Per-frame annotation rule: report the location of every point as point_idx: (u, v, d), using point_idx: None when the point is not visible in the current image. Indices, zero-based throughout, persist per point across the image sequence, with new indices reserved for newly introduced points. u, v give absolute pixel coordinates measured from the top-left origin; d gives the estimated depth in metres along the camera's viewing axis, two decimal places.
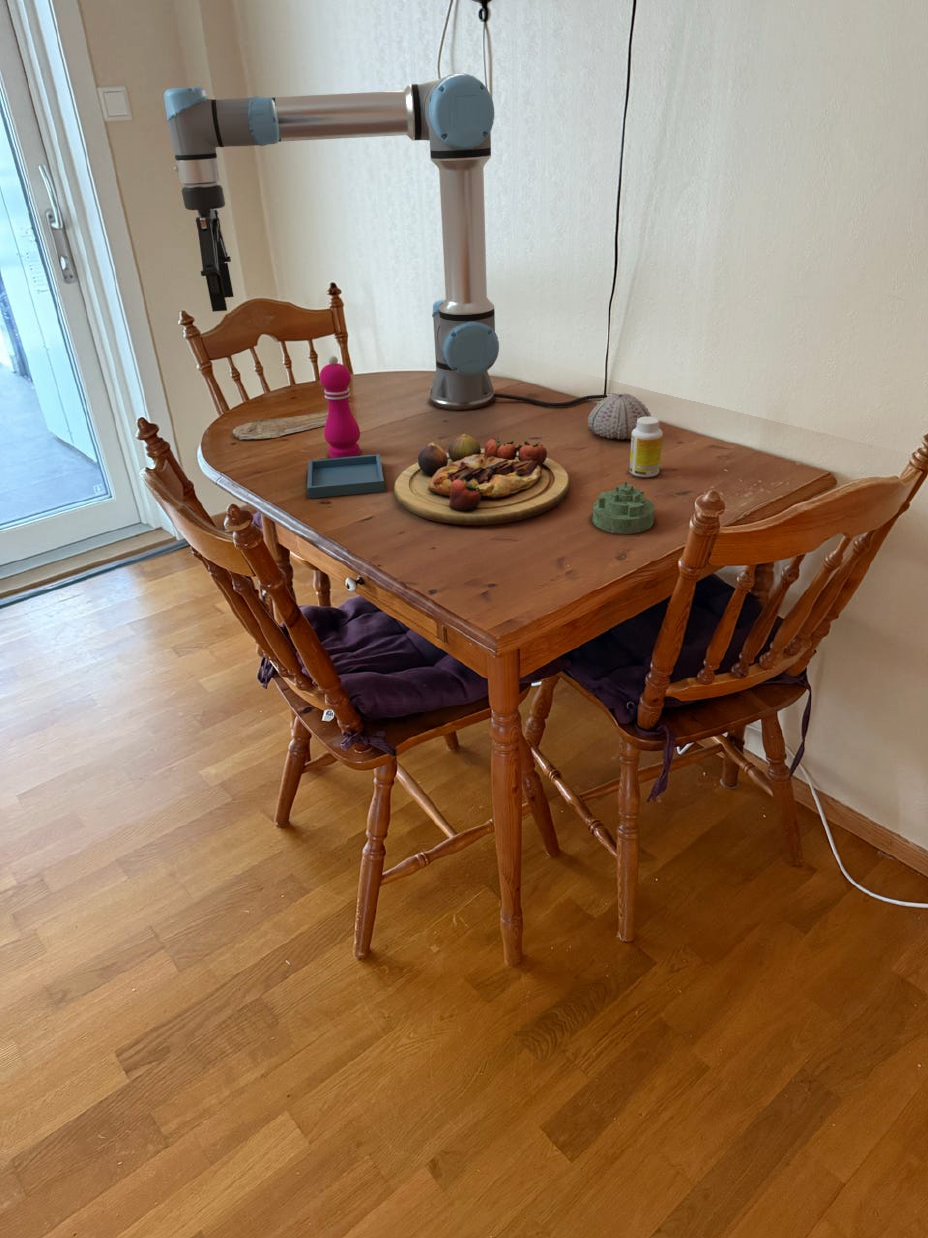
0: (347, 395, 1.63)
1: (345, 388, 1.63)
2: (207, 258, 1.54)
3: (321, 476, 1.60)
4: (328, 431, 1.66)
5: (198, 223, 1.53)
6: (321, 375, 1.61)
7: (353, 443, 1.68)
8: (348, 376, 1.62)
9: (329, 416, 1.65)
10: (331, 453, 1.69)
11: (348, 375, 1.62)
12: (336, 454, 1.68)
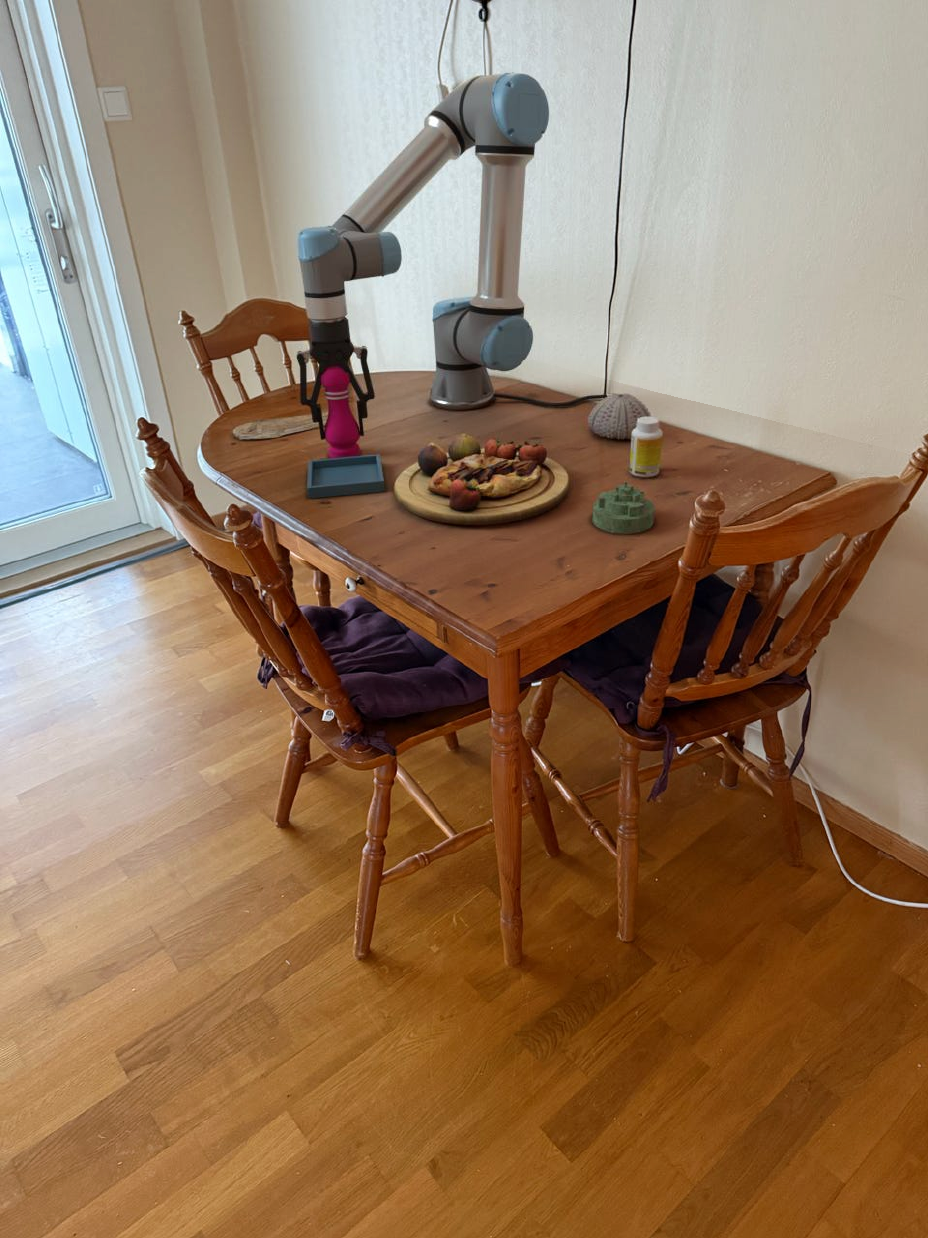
0: (347, 395, 1.63)
1: (345, 388, 1.63)
2: None
3: (321, 476, 1.60)
4: (328, 431, 1.66)
5: None
6: (321, 375, 1.61)
7: (353, 443, 1.68)
8: (348, 376, 1.62)
9: (329, 416, 1.65)
10: (331, 453, 1.69)
11: (348, 375, 1.62)
12: (336, 454, 1.68)
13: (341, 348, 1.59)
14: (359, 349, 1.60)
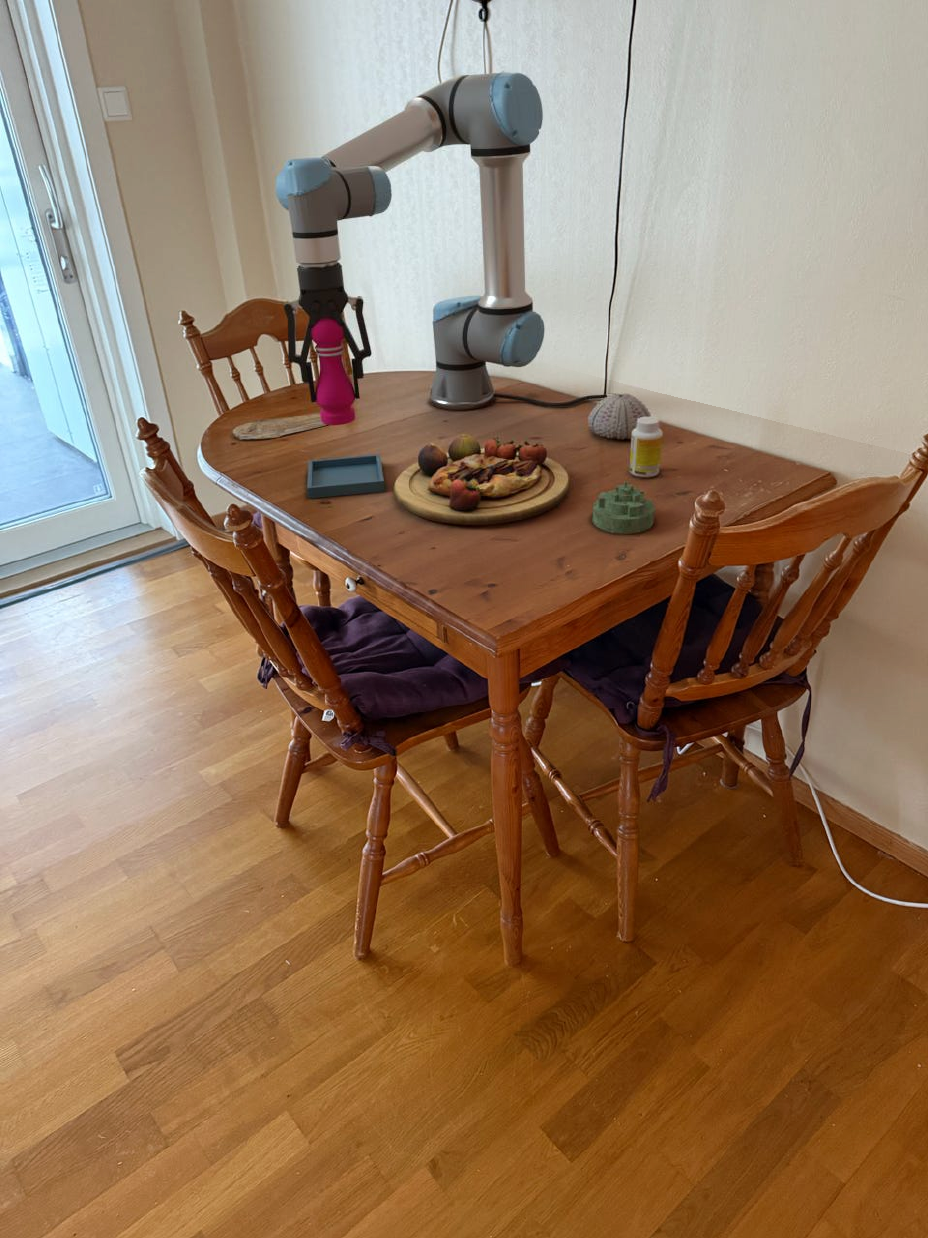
0: (341, 352, 1.46)
1: (338, 344, 1.46)
2: None
3: (321, 476, 1.60)
4: (320, 393, 1.49)
5: None
6: None
7: (347, 406, 1.51)
8: (342, 330, 1.45)
9: (321, 375, 1.48)
10: (323, 418, 1.52)
11: (342, 329, 1.45)
12: (328, 418, 1.51)
13: (334, 298, 1.42)
14: (354, 299, 1.43)
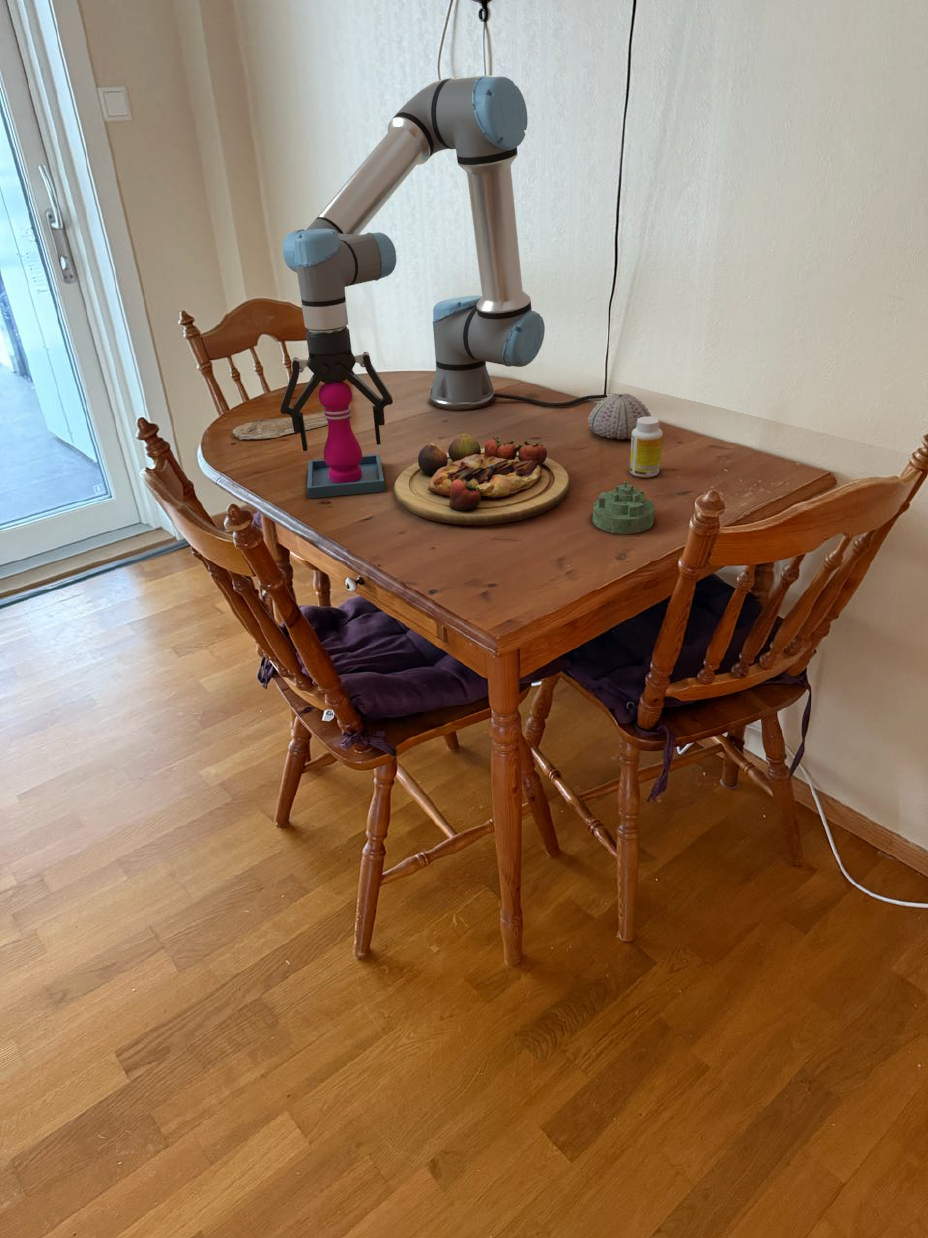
0: (348, 414, 1.51)
1: (346, 407, 1.51)
2: None
3: (321, 476, 1.60)
4: (328, 453, 1.54)
5: None
6: (320, 393, 1.49)
7: (355, 466, 1.56)
8: (349, 394, 1.49)
9: (329, 437, 1.53)
10: (331, 476, 1.57)
11: (349, 393, 1.49)
12: (336, 477, 1.56)
13: (342, 363, 1.47)
14: (360, 357, 1.47)
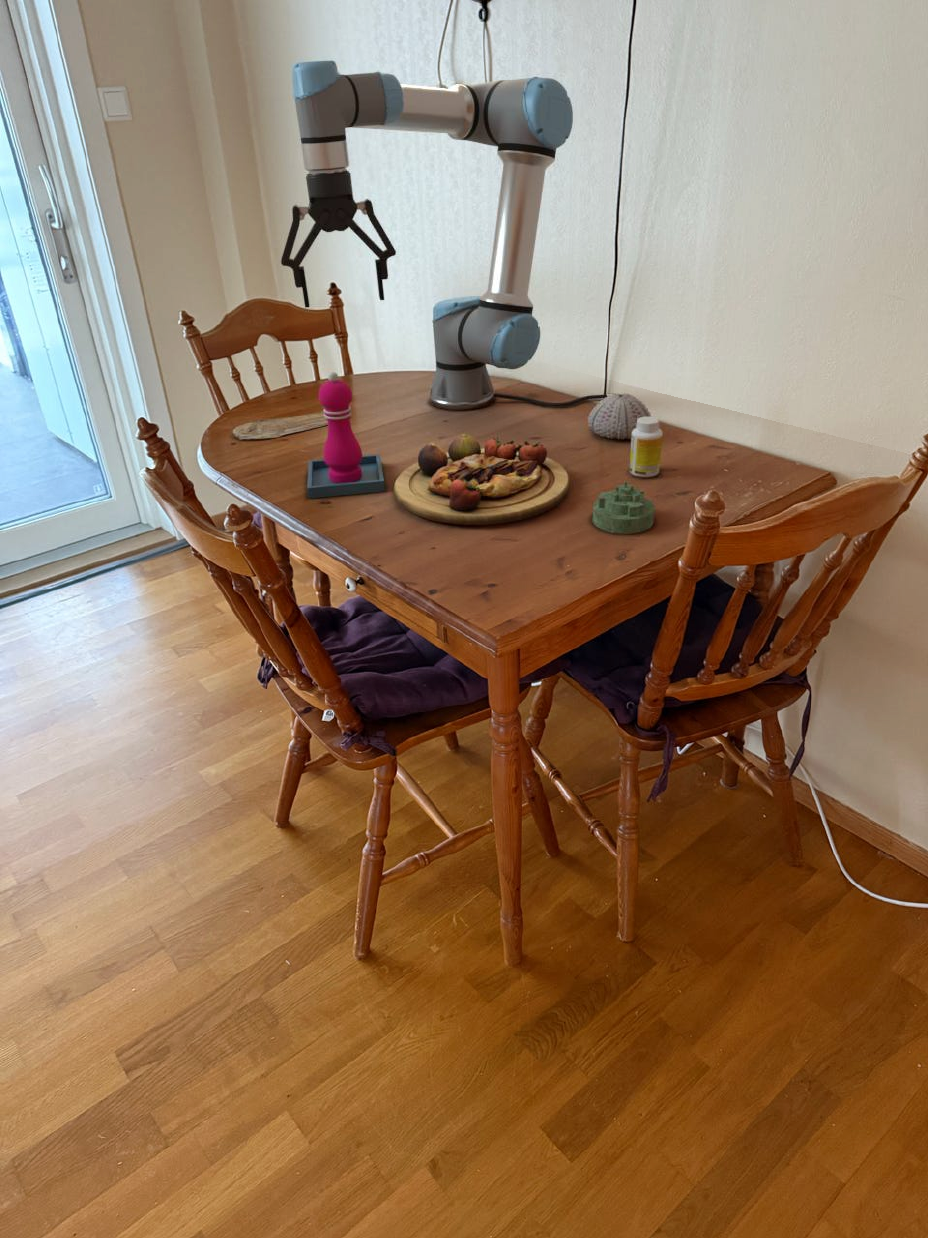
0: (348, 414, 1.51)
1: (346, 407, 1.51)
2: None
3: (321, 476, 1.60)
4: (328, 453, 1.54)
5: None
6: (320, 393, 1.49)
7: (355, 466, 1.56)
8: (349, 394, 1.49)
9: (329, 437, 1.53)
10: (331, 476, 1.57)
11: (349, 393, 1.49)
12: (336, 477, 1.56)
13: (343, 209, 1.43)
14: (362, 203, 1.44)
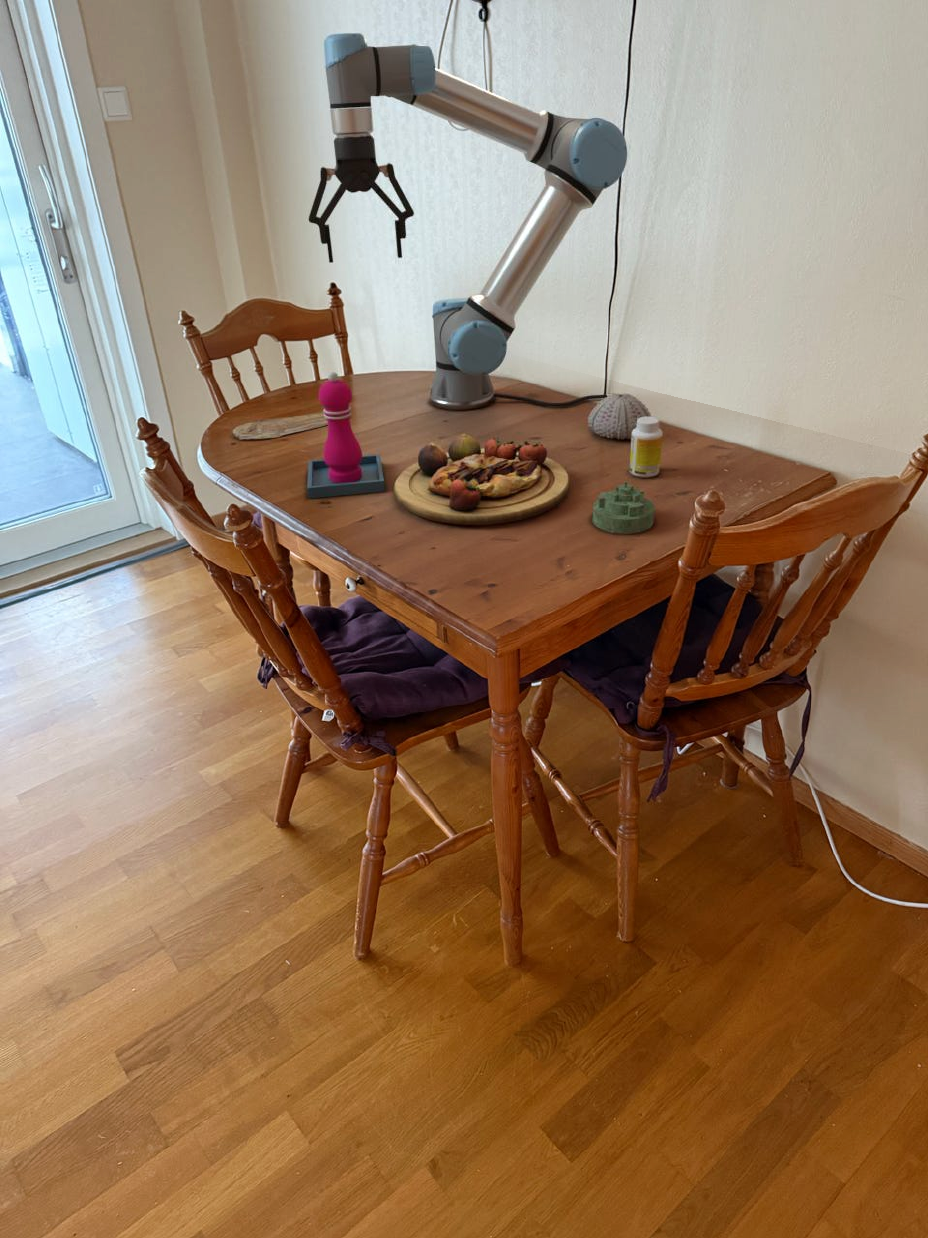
0: (348, 414, 1.51)
1: (346, 407, 1.51)
2: None
3: (321, 476, 1.60)
4: (328, 453, 1.54)
5: None
6: (320, 393, 1.49)
7: (355, 466, 1.56)
8: (349, 394, 1.49)
9: (329, 437, 1.53)
10: (331, 476, 1.57)
11: (349, 393, 1.49)
12: (336, 477, 1.56)
13: (367, 171, 1.56)
14: (384, 166, 1.57)
